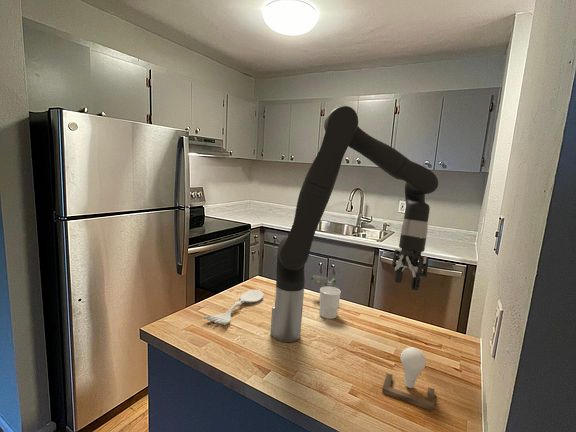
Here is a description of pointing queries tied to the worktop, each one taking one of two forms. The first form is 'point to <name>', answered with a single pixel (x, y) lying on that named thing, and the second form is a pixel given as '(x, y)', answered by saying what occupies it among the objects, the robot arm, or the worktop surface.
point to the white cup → (329, 302)
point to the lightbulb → (412, 365)
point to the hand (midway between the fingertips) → (405, 285)
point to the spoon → (245, 297)
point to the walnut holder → (409, 395)
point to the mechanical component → (322, 281)
